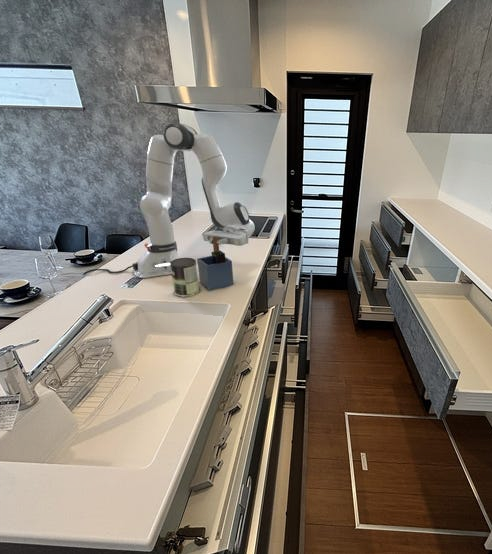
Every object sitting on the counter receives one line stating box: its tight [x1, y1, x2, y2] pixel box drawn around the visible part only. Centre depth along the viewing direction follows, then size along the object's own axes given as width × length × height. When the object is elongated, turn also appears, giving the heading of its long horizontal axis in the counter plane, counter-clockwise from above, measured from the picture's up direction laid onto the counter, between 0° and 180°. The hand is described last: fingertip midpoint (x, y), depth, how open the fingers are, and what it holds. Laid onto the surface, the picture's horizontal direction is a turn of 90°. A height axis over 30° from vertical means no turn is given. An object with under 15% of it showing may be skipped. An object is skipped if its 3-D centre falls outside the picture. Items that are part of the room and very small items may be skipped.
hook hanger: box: [210, 236, 226, 264], centre depth 133 cm, size 6×4×17 cm, turn 39°
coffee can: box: [170, 257, 200, 298], centre depth 130 cm, size 10×10×14 cm
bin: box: [196, 255, 234, 291], centre depth 140 cm, size 12×12×12 cm
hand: (214, 242), depth 131 cm, fingers closed on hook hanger, 2 cm apart
